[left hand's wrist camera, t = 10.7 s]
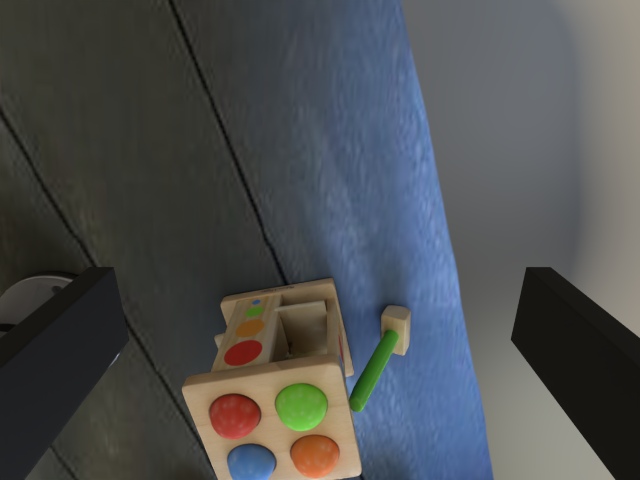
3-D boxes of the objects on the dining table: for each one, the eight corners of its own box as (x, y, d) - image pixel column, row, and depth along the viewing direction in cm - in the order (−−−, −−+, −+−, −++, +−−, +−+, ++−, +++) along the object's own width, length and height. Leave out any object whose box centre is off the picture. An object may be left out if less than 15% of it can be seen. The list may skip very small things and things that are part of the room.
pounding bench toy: (402, 264, 48) (447, 361, 31) (415, 358, 53) (459, 484, 36) (220, 296, 49) (170, 404, 33) (250, 384, 54) (219, 516, 38)
